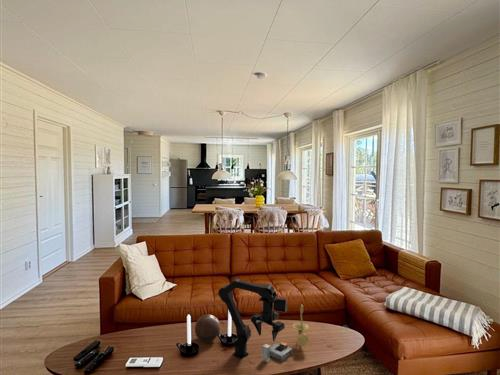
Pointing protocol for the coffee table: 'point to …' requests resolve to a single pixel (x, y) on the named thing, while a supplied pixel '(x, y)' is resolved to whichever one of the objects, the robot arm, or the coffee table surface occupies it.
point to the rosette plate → (283, 349)
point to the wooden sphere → (207, 328)
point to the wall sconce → (301, 330)
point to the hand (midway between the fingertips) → (266, 338)
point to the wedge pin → (266, 353)
